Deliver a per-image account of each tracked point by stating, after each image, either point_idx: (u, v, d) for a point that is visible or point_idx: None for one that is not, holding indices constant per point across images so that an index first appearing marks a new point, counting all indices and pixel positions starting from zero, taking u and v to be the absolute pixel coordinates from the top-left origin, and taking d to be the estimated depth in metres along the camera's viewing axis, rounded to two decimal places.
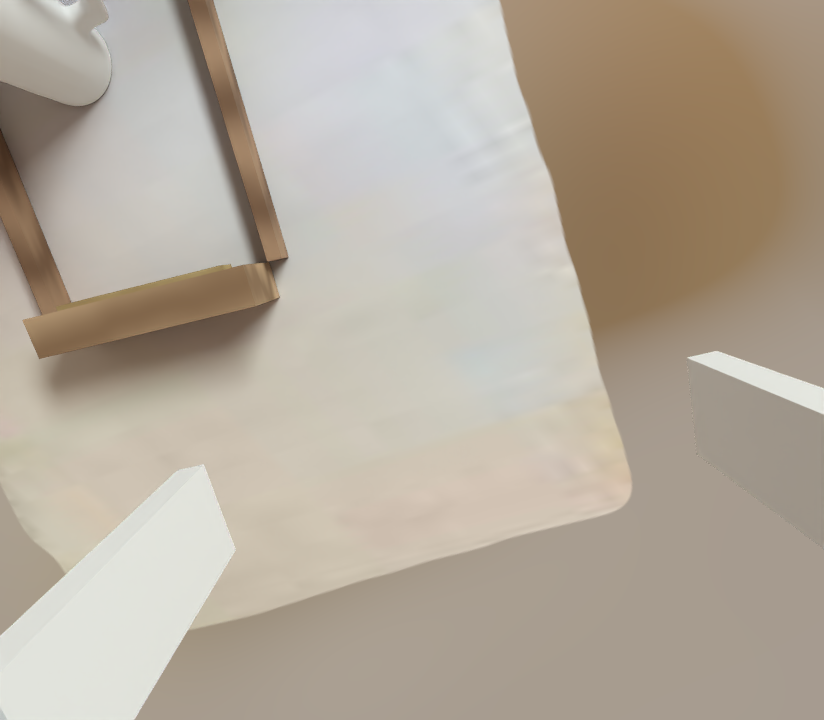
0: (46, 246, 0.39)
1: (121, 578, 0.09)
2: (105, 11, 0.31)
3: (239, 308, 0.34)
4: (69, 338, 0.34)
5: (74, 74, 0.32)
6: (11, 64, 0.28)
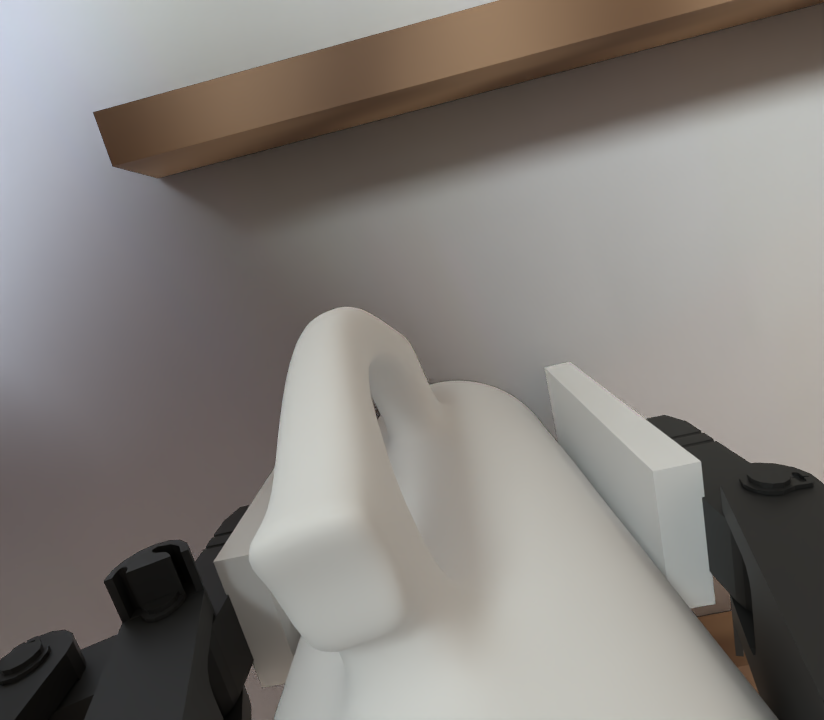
0: None
1: None
2: None
3: None
4: None
5: (558, 448, 0.11)
6: None
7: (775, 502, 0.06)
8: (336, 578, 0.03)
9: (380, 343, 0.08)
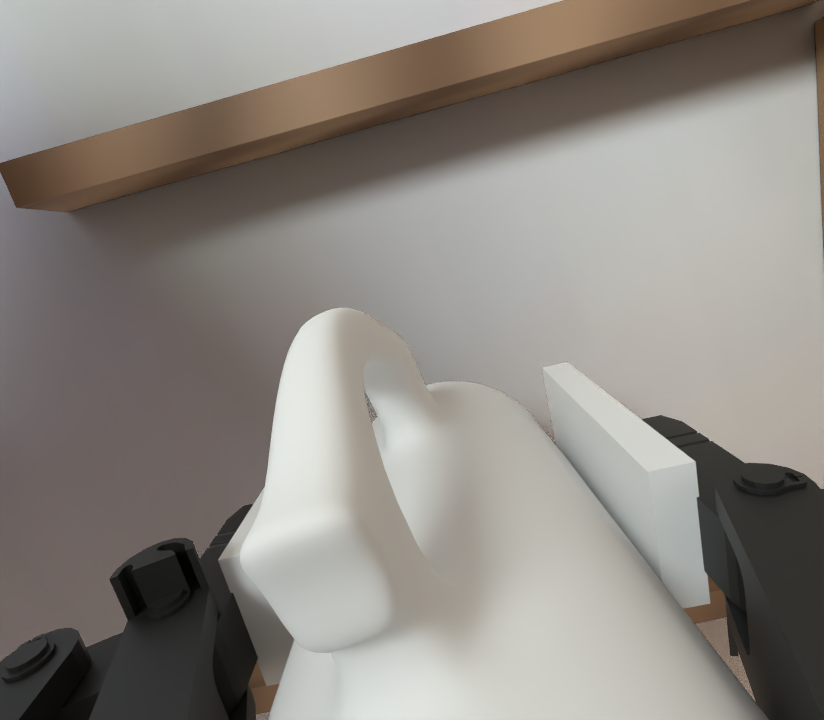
0: None
1: None
2: None
3: None
4: None
5: (554, 449, 0.11)
6: None
7: (769, 502, 0.06)
8: (327, 580, 0.03)
9: (376, 344, 0.08)
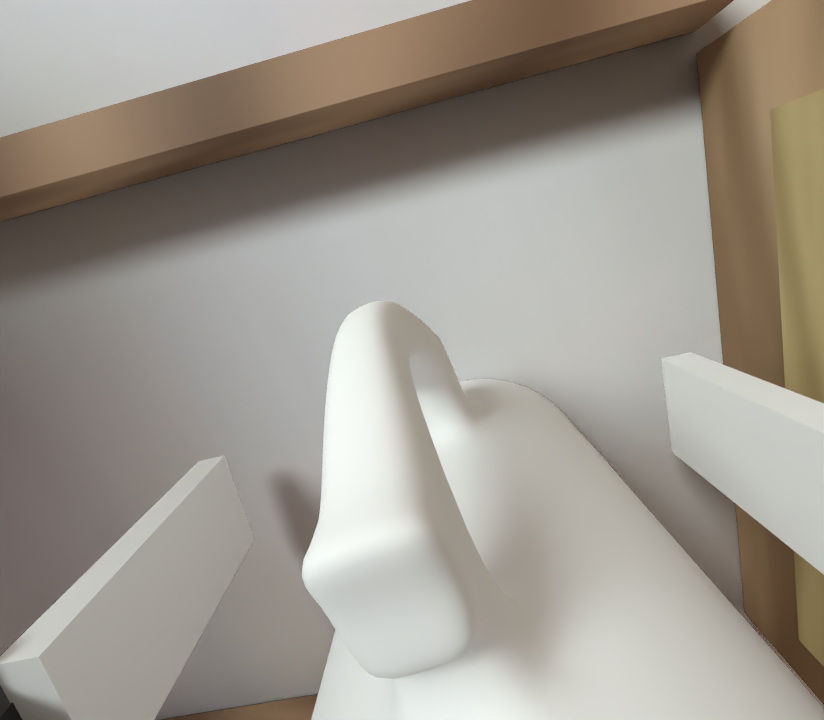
0: None
1: (152, 562, 0.09)
2: None
3: None
4: None
5: (594, 451, 0.10)
6: None
7: None
8: (399, 600, 0.03)
9: (416, 339, 0.07)
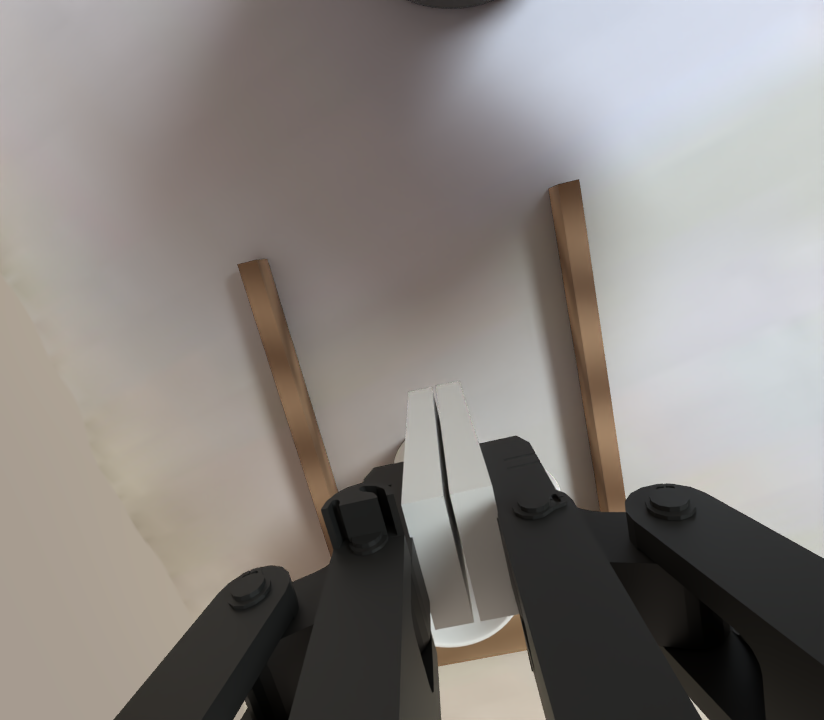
0: None
1: (441, 454, 0.11)
2: None
3: None
4: None
5: None
6: None
7: (537, 525, 0.07)
8: None
9: None
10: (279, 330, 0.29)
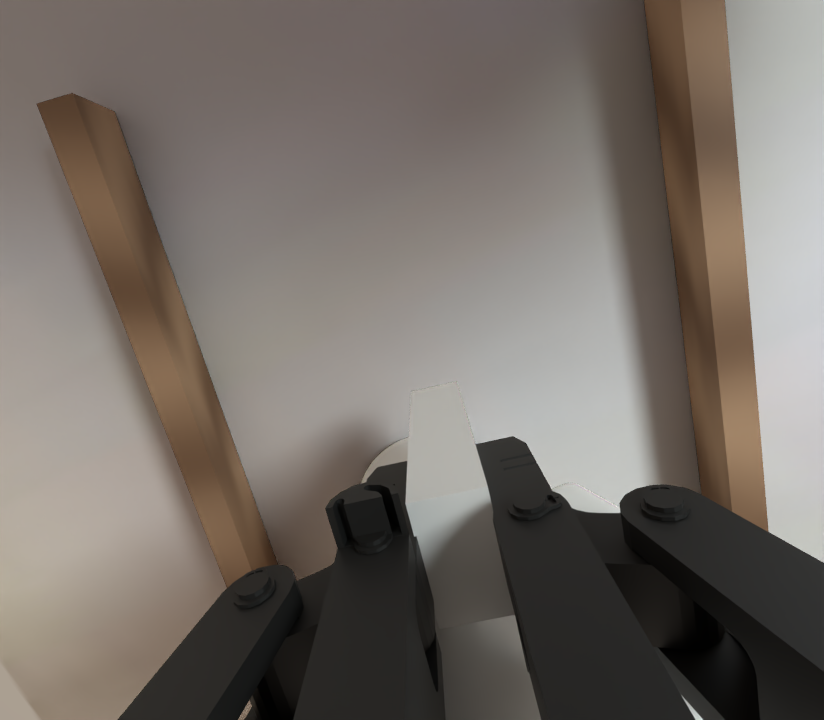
0: None
1: None
2: None
3: None
4: None
5: None
6: None
7: (532, 526, 0.07)
8: None
9: None
10: (129, 238, 0.15)
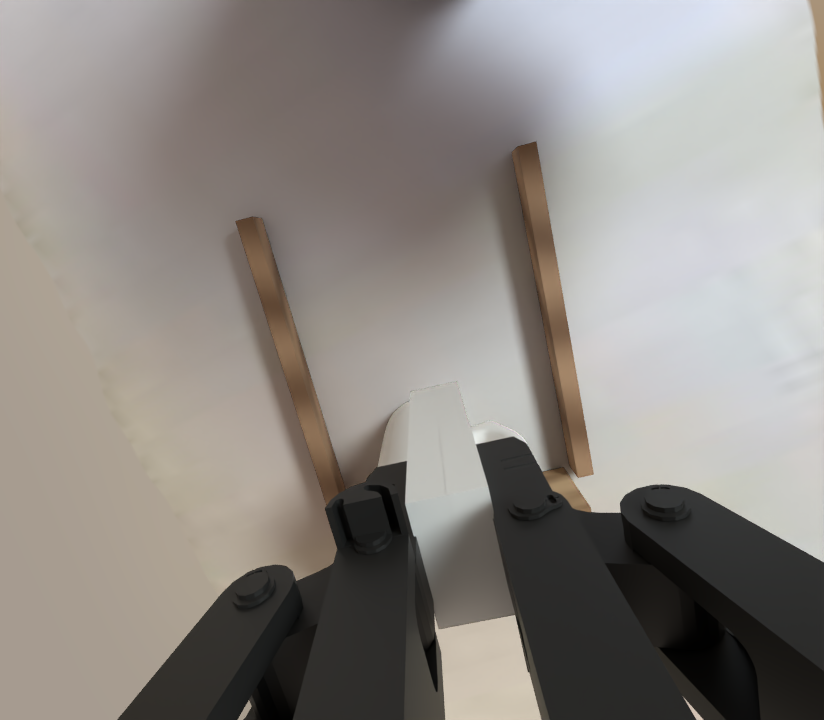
0: (333, 454, 0.37)
1: None
2: None
3: None
4: None
5: None
6: None
7: (533, 526, 0.07)
8: None
9: None
10: (273, 281, 0.32)
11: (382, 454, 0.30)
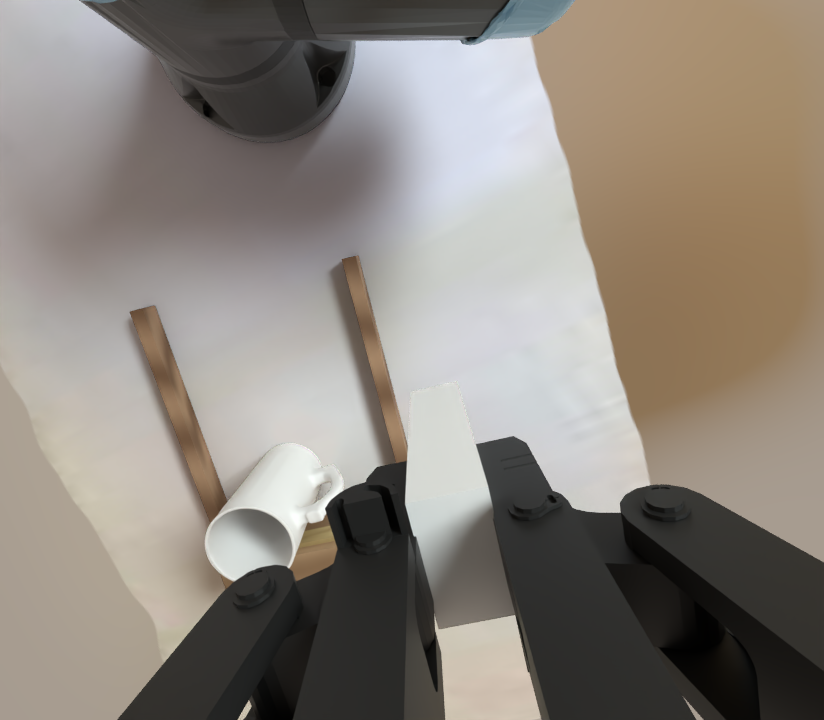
0: (220, 486, 0.47)
1: None
2: None
3: None
4: None
5: None
6: None
7: (533, 526, 0.07)
8: (315, 518, 0.35)
9: None
10: (161, 356, 0.42)
11: None
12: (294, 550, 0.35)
